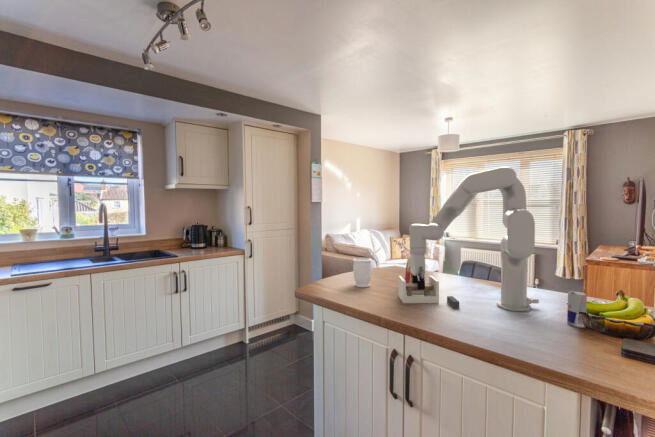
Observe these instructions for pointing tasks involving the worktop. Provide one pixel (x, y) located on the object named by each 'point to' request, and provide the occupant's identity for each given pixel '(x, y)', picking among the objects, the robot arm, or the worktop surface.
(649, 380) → the worktop surface
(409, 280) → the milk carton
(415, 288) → the board
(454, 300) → the rubber block
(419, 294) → the peg frame
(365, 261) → the jar
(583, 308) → the energy drink
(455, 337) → the worktop surface
